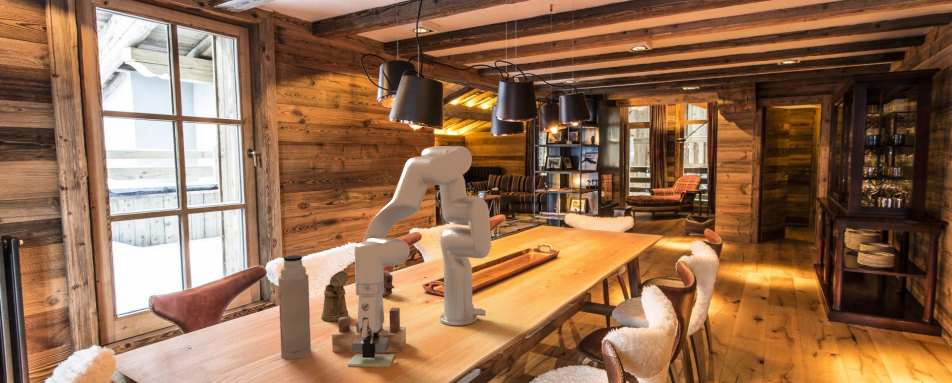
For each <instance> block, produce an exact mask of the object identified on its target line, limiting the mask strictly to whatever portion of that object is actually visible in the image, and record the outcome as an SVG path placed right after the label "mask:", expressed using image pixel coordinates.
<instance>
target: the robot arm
mask: <svg viewBox="0 0 952 383" xmlns="http://www.w3.org/2000/svg"><path fill="white" fill-rule="evenodd" d="M472 161H473V157H472V153H471V152H470V150H469V149H468V148H467V147H465V146H461V145H459V146H458V145H453V146H452V145H445V146H444V145H442V146H441V145H438V146H437V145H436V146H430V147H427V148H424V149H423V151H422V152H421V156H414V157H411V158H409V159H408V160H407V161H406V163H405V165H404V167H403V169H402V172H401V175H400V177H399V180H398V183H397V185H396V188H395V191H394V193H393V196H392V199H391V200H390V202H388V203H387V204H386V205H384V207H383V208H381V210H380V211H379V212H377V214H376V215H375V216H374V217H373V218H372V219H371V221H370V222H369V224H368V227H367V229H366V231H365V234H364V236H363V240H362V241H361V242H358V243H357V244H356V245H355V246H354V272H355V273H354V275H355V276H354V278H355V280H354V282H355V283H354V284H355V295H356V296H357V297H358V306H357V310H358V312H357V314H358V318H357V320H358V327H359V332H361V333H362V335H361V337H362V352H361V354H362V355H363V358H374V357H375V354H376V352H375V343H373V338H379V329H380V328H381V326H382V325H383V326H384V323H385V309H384V298H383V296H382V294H383V293H384V268H385V267H393V266H394V267H395V266H399V265H402V264H405V262H407V261H408V259H409V257H410V253H411V249H410V246H409V244H408V243H407V242H406V241H405V240H403V239H400V238H396V237H390V236H389V237H387V236H386V235H387V233H388V232H389V231H390V229H392V227H393V226H394V225H395V224H397V223H399V222H401V221H402V220H405V219H407V218H409V217H411V216H414V215H416V214H417V213H418V212H419V211H420V210H421V207H422V203H423V201H424V198H425V196H426V192H427V190H428V187H429V186H439V193H440V201H441V203H440V204H441V205H440V206H441V212H442V213H441V214H442V218H443V220H444V221H445V222H446V223H448V224H452V225H459V227H457V226H455V227H454V226H453V227H452V226H451V227H449V228H448V227H447V228H446V229H445V230H443V232H442V233H441V235H440V240H439V244H440V249H441V254H442V260H443V261H442V262H443V263H442V264H443V296H444V297H443V300H444V302H443V304H444V306H443V307H444V312H443V313H441V315H440V316H439V321H440V322H441V323H443V324H445V325H448V326H466V325H471V324H473V323H476V322H477V320H478V316H481V317H482V316H483V317H485V316H486V314H487V312H486V311H487V310H486V309H483V308H476V307H475V306H474V305H475V304H473V268H472V264H471V261H470V259H469V258H471V259H484V258H486V257H487V256H488V255H489V254H490V251H491V248H492V232H491V222H490V221H491V220H490V209H489V206H488V203H487V202H486V201H485V199H483V198H482V197H479V196H469V195H467V189H466V180H465V178H464V175H465V173H467V172H468V171H469V170H470V167H471V166H472ZM460 226H469V228H468V227H460ZM368 334H369V335H368Z"/></svg>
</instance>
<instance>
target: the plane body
mask: <svg viewBox="0 0 952 383" xmlns="http://www.w3.org/2000/svg"><path fill="white" fill-rule="evenodd" d="M400 310H401V308H400V307H391V308H390V309H389V310H388V311H389V326H384V324H383V325H382V326H381V328H380V329H379V338H389V347H388V349H387V351H386V352H385V353H402V352H403V350H404V348H405V346H406V344H407V327H406V326H401V313H400V312H401V311H400ZM350 318H351V317H349V316H348V317H340V318H338V321H337V322H338V327H337V329H336V330H335V331H334V332H332V335H331V341H332V342H331V343H332V345H331V347H332V352H335V353H336V352H340V353H341V352H342V353H343V352H348V353H350V352H352V343H353V342H354V340H355V339H356V338H357V337H361V335H362V333H361V332H359V327H358V319H357V320H356V321H355V325H354V326H351V322H350V321H351V320H350ZM368 335H369V334H368ZM352 353H353V352H352Z"/></svg>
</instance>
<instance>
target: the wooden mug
mask: <svg viewBox="0 0 952 383" xmlns="http://www.w3.org/2000/svg"><path fill="white" fill-rule="evenodd" d="M348 280H349V274H348V273H346V272H344V271H339V272H336V273H334V275H332V276H331V277H330V280H329V284H326V286H325V289H324V292H323V296H324V300H323V306H322V307H323V309H322V313H321V320H322V321H324V322H325V321H326V322H338V318H340V317H349V310H348V308H347V302H346V301H347V300H346V290H345V287H344V285H345V284H346V283H347V281H348Z"/></svg>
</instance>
